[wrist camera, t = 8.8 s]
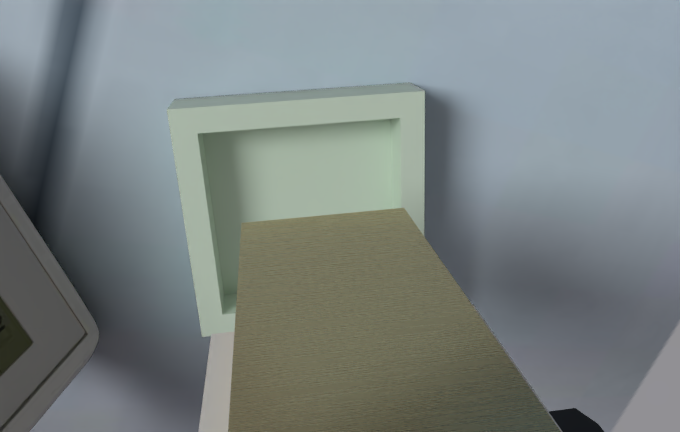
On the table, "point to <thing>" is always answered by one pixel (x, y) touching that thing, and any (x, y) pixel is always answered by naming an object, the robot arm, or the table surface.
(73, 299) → the digital clock
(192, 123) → the tray
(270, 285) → the wooden block
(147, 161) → the table surface
